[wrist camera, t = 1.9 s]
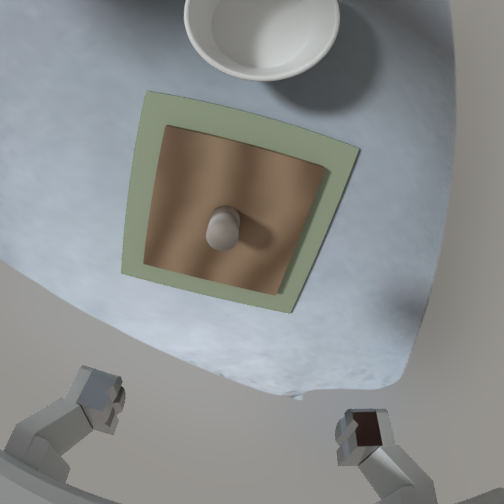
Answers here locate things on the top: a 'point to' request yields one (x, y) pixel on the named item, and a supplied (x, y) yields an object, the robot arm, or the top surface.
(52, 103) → the top surface
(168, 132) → the walnut lid
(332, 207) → the olive mat
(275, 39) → the food container
